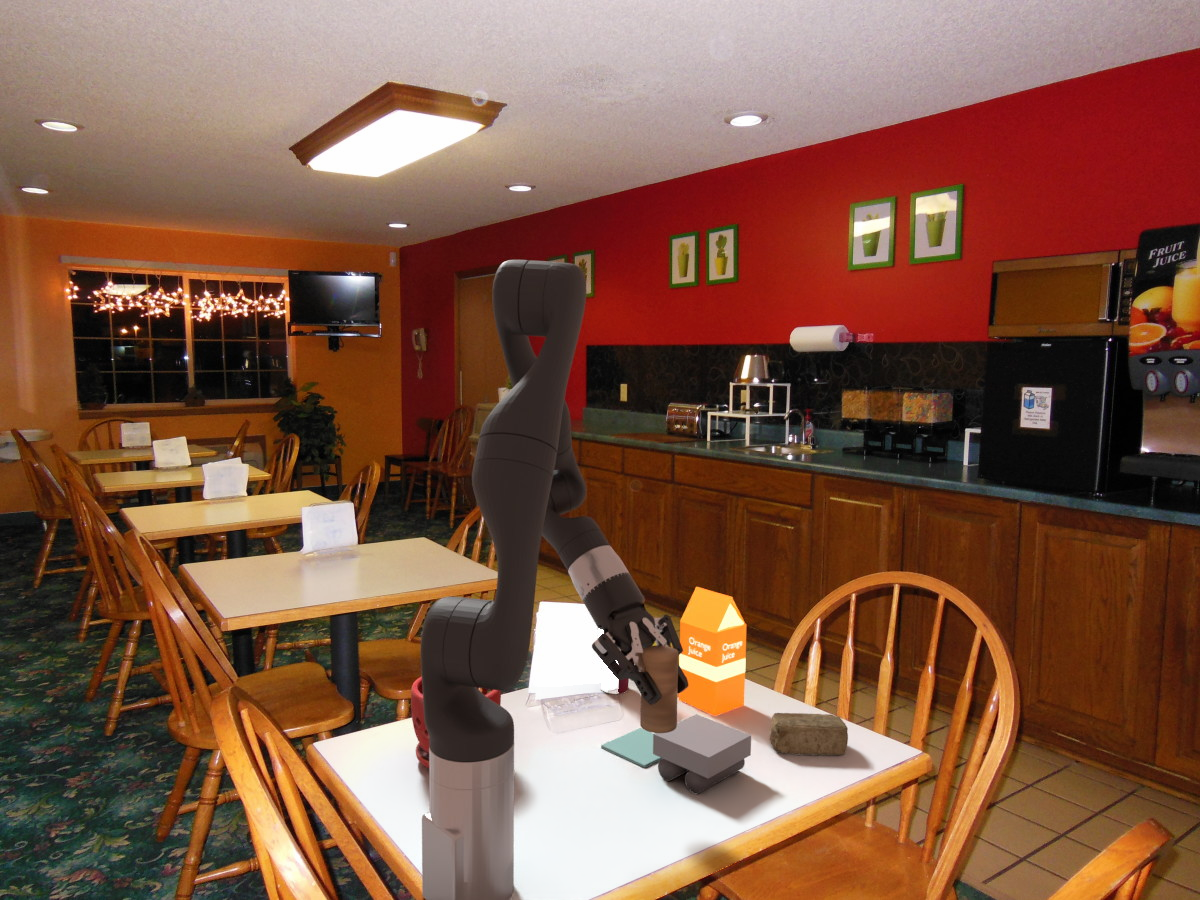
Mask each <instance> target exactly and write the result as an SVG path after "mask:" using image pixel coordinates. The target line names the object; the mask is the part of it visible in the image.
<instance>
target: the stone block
mask: <svg viewBox="0 0 1200 900" xmlns="http://www.w3.org/2000/svg"><path fill="white" fill-rule="evenodd" d="M848 731H849V730H848V726H847V725H846V722H844V721H843V720H842V718H841V717H840V716H838V715H833V714H826V713H825V714H821V713H803V712H801V713H797V712H796V713H795V712H794V713H793V712H792V713H789V712H784V713H783V712H775V713H773V714H772V722H771V725H770V734H769V744H770V745H771V748H772V749H773V751H774V752H779V753H781V754H790V755H804V756H841V755H844V754H846V751H847V747H848V743H849V733H848Z"/></svg>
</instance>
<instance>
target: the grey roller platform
mask: <svg viewBox="0 0 1200 900" xmlns="http://www.w3.org/2000/svg"><path fill="white" fill-rule="evenodd" d="M751 752H752V734H749V733H747V732H744V731H741V730H739V729H737V728H734V727H731V726H729V725H726V724H723V723H721V722H718V721H716V720H714V719H709V718H707V717H705V716H703V715H699V714H698V713H696V714H694V715H692V716H690V717H688V718H686V719H683V720H681V721H678V722H677V727H676V729H675V730H673V731H671V732H668V733H653V754H654V755H656V756H659V757H661V758H663V759H661V760H659V761H658V764H657V771H658V772H659V775H660V777H661V778H663V780H665V781H672V780H674V779H676V778H677V777H680V776H682V775H683V774H685V776H684V782H685V785H686V787H687V789H688V790H689V791H690V792H691V793H693V794H699V793H702V792H703V791H705V790H707V789H708V788H710V787H712V786H714V785H716V784H718V783H719V782H720V781H721V782H722V781H723V780H724V779H726V778H728V777H730V776H731V775H733V774H735V773H737V772H739V771H740V770H743V768H744V767H745V759H746V758H748V757H750V756H751V754H752V753H751Z"/></svg>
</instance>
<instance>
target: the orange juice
mask: <svg viewBox="0 0 1200 900" xmlns="http://www.w3.org/2000/svg"><path fill="white" fill-rule="evenodd" d="M679 622H680V628H679V630H680V631H679V633H680V634H679V635H680V636H679V640H680V643H681V645H682V648H683V652H682V653H681V654H680V655H679V666H680V668H681V669H682V671H683V672H684V675H685V676H686V677H687V680H688V684H689V686H688V688H686V689H685V690H684V691H683V692H681V693H679V694H678V701H680V700H681V701H680V702H682V701H683V703H684V702H686V703H688V704H687V705H689V704H690V705H689V706H691V705H692V706H691V707H693V706H694V708H695V707H696V709H698V710H700V709H701V710H700V711H702V710H703V712H704V711H705V713H707V714H709V715H711V716H713V715H714V717H716V715H717V716H720V715H721V714H724V713H727V712H730V711H732V709H733V710H735V709H738V708H740V707H743V706H745V689H746V688H745V685H746V684H745V683H746V679H745V678H746V668H747V667H746V662H747V661H746V658H747V657H746V652H747V623H745V621H744V618H743V616H742V615H741V612H740V610H739V609H738V607H737V604H736V603H735V600H734V597H733V596H730V595H727V594H723V593H719V592H717V591H714V590H709V589H705V588H703V587H700V586H696V587H695V589H694V591H693V593H692V595H691V597H690V599H689V601H688V603H687V606H686V608H685V610H684V612H683V614H682V617H681V618H680V621H679ZM686 703H685V704H686Z"/></svg>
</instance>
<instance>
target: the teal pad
mask: <svg viewBox="0 0 1200 900" xmlns="http://www.w3.org/2000/svg"><path fill="white" fill-rule="evenodd" d="M653 734H654V733H652V732H648V731H646V730H644V729H643V728H642V727H640V728H639V727H638V728H637V729H635V730H633V731H630V732H628V733H626V734H623V735H621V736H619V737H617V738H614V739H612V740H610V741H608V742H605V743H603V744H601V745H600V748H601V749H602V750H605V751H607V752H609V753H612V754H614V755H616V756H619V757H620V758H623V759H625V760H627V761H629V762H631V763H633V764H635V765H638V766H639V767H642V768H644V769H646V768H647V767H650V766H651V765H653V764H656V763H657V762H659V761H660V760H662V759H663V758H661V757H659V756H656V755H654V754H653Z"/></svg>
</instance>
